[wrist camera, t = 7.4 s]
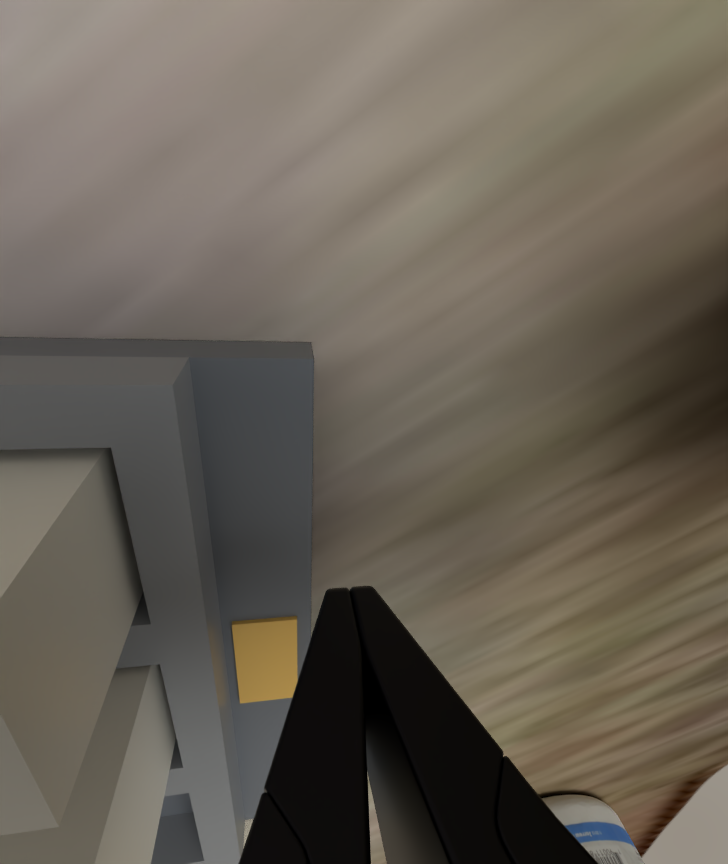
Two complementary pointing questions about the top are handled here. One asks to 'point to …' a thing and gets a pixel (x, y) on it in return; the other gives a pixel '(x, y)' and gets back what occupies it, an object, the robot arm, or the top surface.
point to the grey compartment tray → (196, 541)
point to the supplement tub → (595, 828)
